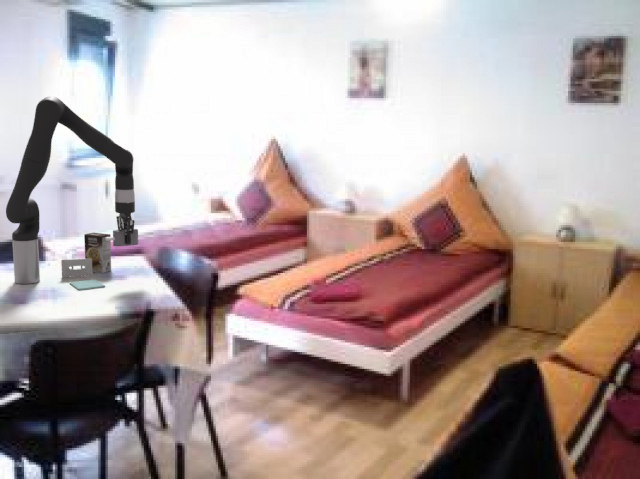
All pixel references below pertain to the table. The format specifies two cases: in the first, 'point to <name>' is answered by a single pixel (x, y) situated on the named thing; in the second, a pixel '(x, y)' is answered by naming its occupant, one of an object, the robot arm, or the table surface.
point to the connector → (123, 238)
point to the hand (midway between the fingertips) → (125, 242)
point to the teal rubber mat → (87, 284)
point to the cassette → (76, 272)
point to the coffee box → (98, 251)
